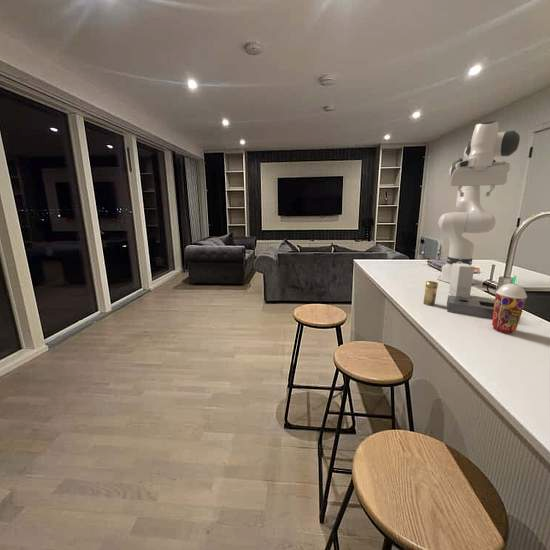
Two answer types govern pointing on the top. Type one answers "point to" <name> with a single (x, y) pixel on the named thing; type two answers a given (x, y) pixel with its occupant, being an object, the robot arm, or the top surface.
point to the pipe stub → (430, 293)
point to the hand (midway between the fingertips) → (474, 196)
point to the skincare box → (461, 280)
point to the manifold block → (470, 306)
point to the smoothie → (508, 307)
